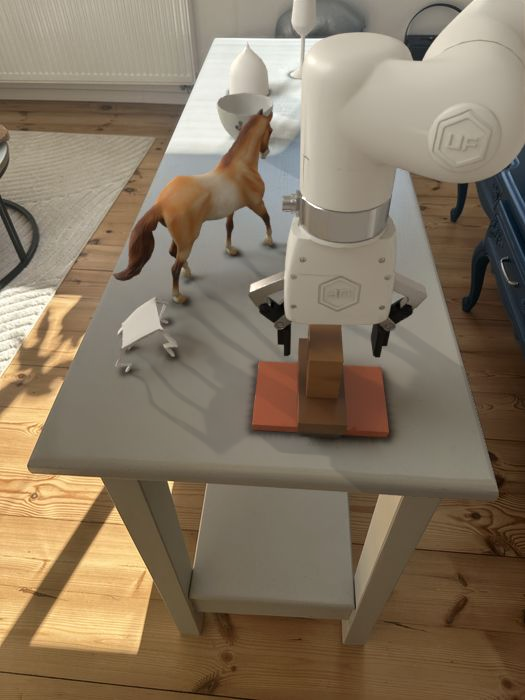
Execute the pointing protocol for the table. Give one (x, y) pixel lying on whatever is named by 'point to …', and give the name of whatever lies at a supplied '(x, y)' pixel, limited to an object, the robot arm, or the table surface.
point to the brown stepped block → (321, 383)
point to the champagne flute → (303, 26)
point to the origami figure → (143, 328)
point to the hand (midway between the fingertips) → (330, 347)
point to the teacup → (241, 110)
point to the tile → (282, 398)
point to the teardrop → (248, 74)
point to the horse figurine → (205, 203)
